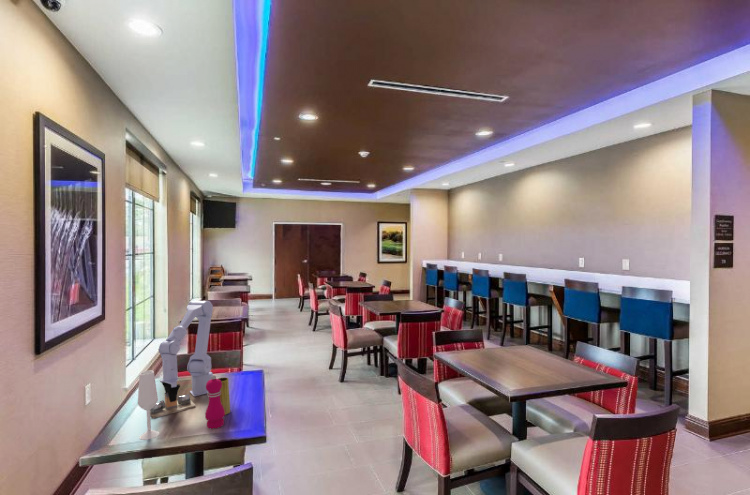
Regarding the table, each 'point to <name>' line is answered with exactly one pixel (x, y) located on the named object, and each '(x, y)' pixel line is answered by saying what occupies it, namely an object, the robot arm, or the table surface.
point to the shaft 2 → (184, 399)
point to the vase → (225, 395)
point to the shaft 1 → (158, 407)
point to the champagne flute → (147, 399)
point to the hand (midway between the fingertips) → (171, 399)
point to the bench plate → (174, 409)
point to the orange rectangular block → (168, 403)
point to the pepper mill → (214, 404)
